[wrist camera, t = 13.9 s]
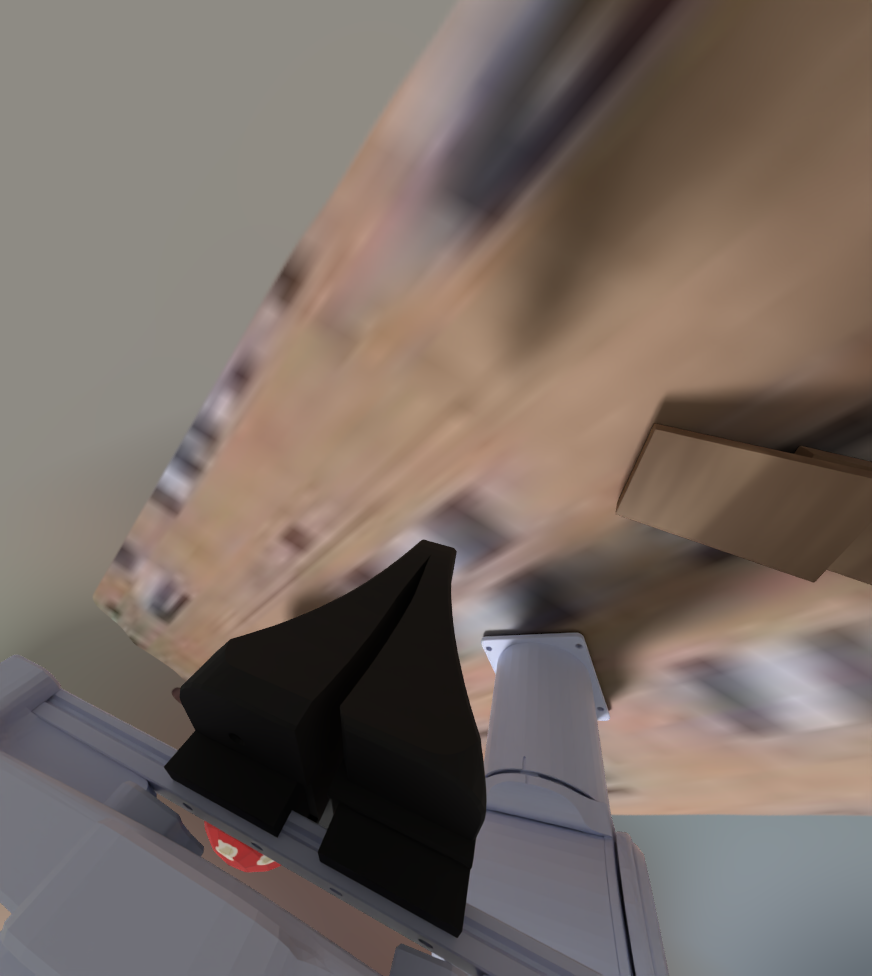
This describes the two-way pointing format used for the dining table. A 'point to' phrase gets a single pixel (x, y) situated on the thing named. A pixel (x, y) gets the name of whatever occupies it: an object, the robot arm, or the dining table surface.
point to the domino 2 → (868, 552)
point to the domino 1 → (748, 500)
